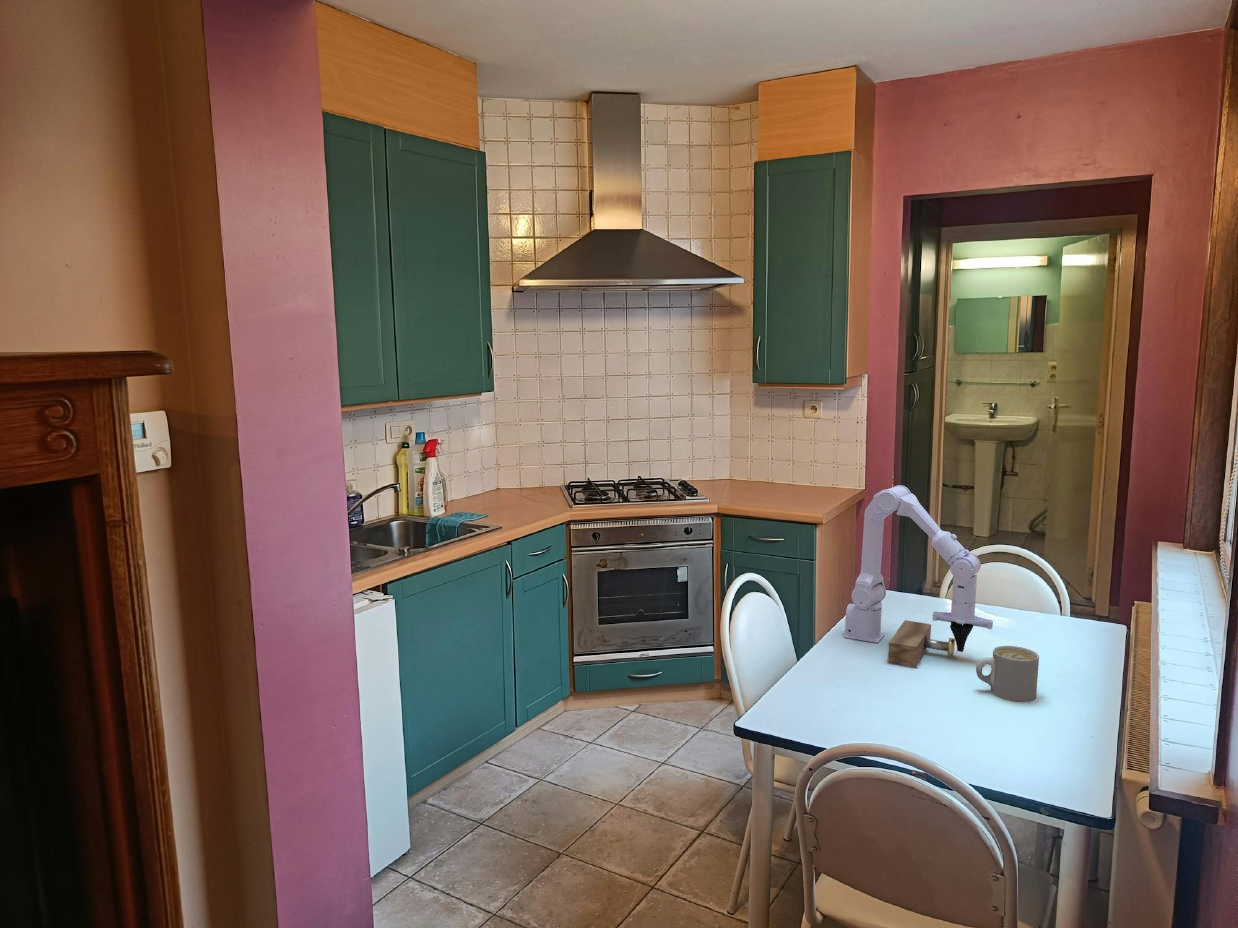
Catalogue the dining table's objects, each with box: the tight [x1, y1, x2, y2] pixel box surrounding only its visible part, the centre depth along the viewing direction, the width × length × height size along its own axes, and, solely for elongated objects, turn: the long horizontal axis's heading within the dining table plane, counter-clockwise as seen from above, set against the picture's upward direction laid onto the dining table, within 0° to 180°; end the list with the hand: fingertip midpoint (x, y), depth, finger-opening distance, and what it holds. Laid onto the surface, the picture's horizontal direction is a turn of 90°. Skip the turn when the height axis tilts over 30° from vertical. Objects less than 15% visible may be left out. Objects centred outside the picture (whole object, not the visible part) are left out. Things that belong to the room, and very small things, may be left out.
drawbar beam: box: [887, 619, 932, 669], centre depth 232 cm, size 7×20×6 cm, turn 151°
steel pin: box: [924, 637, 956, 658], centre depth 230 cm, size 9×5×5 cm, turn 61°
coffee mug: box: [975, 645, 1040, 703], centre depth 206 cm, size 13×10×10 cm
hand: (960, 650), depth 227 cm, fingers closed
